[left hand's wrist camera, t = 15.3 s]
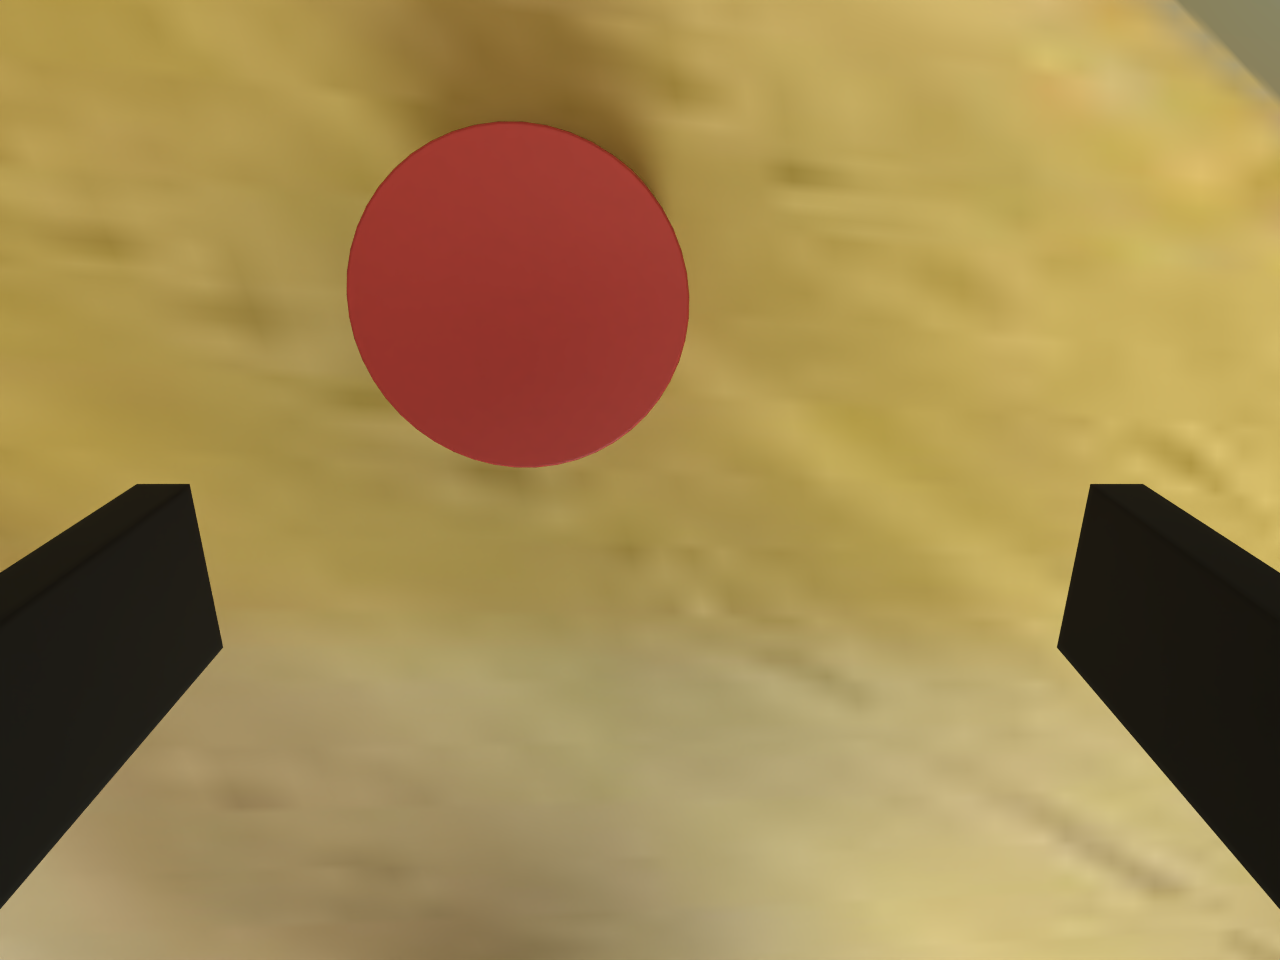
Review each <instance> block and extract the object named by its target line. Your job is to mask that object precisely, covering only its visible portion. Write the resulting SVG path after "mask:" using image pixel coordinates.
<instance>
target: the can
mask: <svg viewBox="0 0 1280 960" xmlns="http://www.w3.org/2000/svg"><path fill="white" fill-rule="evenodd" d="M347 301H348V310H349V318H350V322H351V326H352V330H353V334H354V339H355V341H356V344H357V347H358V349H359V352H360V354H361V357H362V360H363V362H364V364H365V365H366V367H367V369H368V371H369V373H370V375H371V377H372V379H373V380H374V382H375V383H376V385H377V386H378V388H379V389H380V391H381V392H382V393H383V395H384V396H385V398H386V399H387V400H388V401H389V402H390V403H391V405H392V406H393V407H394V408H395V409H396V410H397V411H398V412H399V414H400V415H401V416H403V417H404V418H405V419H406V420H407V421H408V422H409V423H410V424H412V425H413V426H414V427H415V428H416V429H417V430H419V431H420V432H422V433H423V434H425V435H426V436H427V437H429V438H430V439H432V440H433V441H435V442H436V443H438V444H440V445H442V446H444V447H446V448H448V449H450V450H452V451H453V452H456V453H458V454H461V455H464V456H466V457H469V458H471V459H474V460H478V461H482V462H486V463H490V464H494V465H501V466H509V467H543V466H551V465H558V464H562V463H566V462H570V461H574V460H578V459H580V458H583V457H585V456H588V455H590V454H593V453H595V452H597V451H599V450H601V449H603V448H605V447H607V446H608V445H610V444H612V443H614V442H615V441H617V440H618V439H619V438H621V437H622V436H624V435H625V434H626V433H628V432H629V431H630V430H632V429H633V428H634V427H635V426H636V425H637V424H638V423H639V422H640V421H641V420H642V419H643V418H644V417H645V416H646V415H647V414H648V413H649V411H650V410H651V409H652V408H653V406H654V405H655V404H656V403H657V401H658V400H659V399H660V397H661V396H662V394H663V392H664V391H665V389H666V387H667V386H668V384H669V382H670V381H671V378H672V376H673V374H674V372H675V369H676V367H677V365H678V363H679V360H680V356H681V353H682V350H683V346H684V343H685V339H686V332H687V326H688V319H689V289H688V280H687V272H686V268H685V263H684V259H683V255H682V251H681V248H680V245H679V243H678V240H677V237H676V235H675V232H674V230H673V227H672V226H671V224H670V222H669V220H668V218H667V216H666V214H665V212H664V211H663V209H662V207H661V206H660V204H659V203H658V201H657V200H656V199H655V197H654V196H653V194H652V193H651V192H650V190H649V189H648V187H647V186H646V185H645V184H644V182H643V181H642V180H641V179H640V178H639V177H638V176H637V175H636V174H635V173H634V172H633V171H632V170H631V169H630V168H629V167H627V166H626V165H625V164H624V163H623V162H621V161H620V160H619V159H617V158H616V157H615V156H613V155H612V154H610V153H609V152H607V151H606V150H604V149H602V148H601V147H599V146H598V145H596V144H594V143H593V142H591V141H589V140H586V139H584V138H582V137H580V136H577V135H575V134H573V133H571V132H568V131H565V130H561V129H558V128H554V127H551V126H548V125H542V124H535V123H528V122H492V123H484V124H477V125H472V126H469V127H466V128H462V129H459V130H455V131H452V132H450V133H448V134H445V135H443V136H441V137H439V138H436V139H434V140H432V141H430V142H429V143H427V144H426V145H424V146H422V147H421V148H419V149H418V150H416V151H415V152H413V153H412V154H410V155H409V156H408V157H407V158H406V159H405V160H403V161H402V162H401V163H400V164H399V165H398V166H397V167H395V168H394V169H393V170H392V172H391V173H390V174H389V175H388V176H387V177H386V179H385V180H384V181H383V182H382V183H381V184H380V186H379V187H378V188H377V190H376V192H375V193H374V195H373V196H372V198H371V200H370V201H369V203H368V204H367V206H366V208H365V210H364V212H363V215H362V217H361V219H360V221H359V224H358V226H357V229H356V232H355V235H354V239H353V242H352V246H351V249H350V256H349V262H348V269H347Z"/></svg>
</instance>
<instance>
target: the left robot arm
mask: <svg viewBox="0 0 1280 960" xmlns="http://www.w3.org/2000/svg"><path fill="white" fill-rule="evenodd" d="M222 648H223V645H222V640H221V635H220V630H219V625H218V621H217V616H216V611H215V606H214V601H213V596H212V591H211V586H210V582H209V577H208V572H207V567H206V562H205V557H204V552H203V547H202V542H201V538H200V533H199V528H198V523H197V518H196V513H195V508H194V503H193V499H192V494H191V489H190V484H136V485H135V486H133V487H132V488H130V489H129V490H127V491H126V492H124V493H123V494H121V495H119V496H118V497H116V498H115V499H113V500H112V501H110V502H109V503H107V504H106V505H104V506H102V507H101V508H99V509H98V510H96V511H95V512H93V513H92V514H90V515H89V516H87V517H86V518H84V519H82V520H81V521H79V522H78V523H76V524H75V525H73V526H72V527H70V528H69V529H67V530H66V531H64V532H62V533H61V534H59V535H58V536H56V537H55V538H53V539H52V540H50V541H49V542H47V543H45V544H44V545H42V546H41V547H39V548H38V549H36V550H35V551H33V552H32V553H30V554H29V555H27V556H25V557H24V558H22V559H21V560H19V561H18V562H16V563H15V564H13V565H12V566H10V567H9V568H7V569H5V570H4V571H2V572H1V573H0V909H1V908H2V906H3V905H4V904H5V903H6V902H7V901H8V899H9V898H10V897H11V896H12V895H13V894H14V892H15V891H16V890H17V889H18V888H19V886H20V885H21V884H22V883H23V882H24V881H25V879H26V878H27V877H28V876H29V875H30V874H31V872H32V871H33V870H34V869H35V868H36V867H37V865H38V864H39V863H40V862H41V861H42V859H43V858H44V857H45V856H46V855H47V854H48V852H49V851H50V850H51V849H52V848H53V847H54V845H55V844H56V843H57V842H58V841H59V839H60V838H61V837H62V836H63V835H64V834H65V832H66V831H67V830H68V829H69V828H70V827H71V825H72V824H73V823H74V822H75V821H76V820H77V818H78V817H79V816H80V815H81V814H82V812H83V811H84V810H85V809H86V808H87V807H88V805H89V804H90V803H91V802H92V801H93V800H94V798H95V797H96V796H97V795H98V794H99V793H100V791H101V790H102V789H103V788H104V787H105V785H106V784H107V783H108V782H109V781H110V780H111V778H112V777H113V776H114V775H115V774H116V773H117V771H118V770H119V769H120V768H121V767H122V765H123V764H124V763H125V762H126V761H127V760H128V758H129V757H130V756H131V755H132V754H133V753H134V751H135V750H136V749H137V748H138V747H139V746H140V744H141V743H142V742H143V741H144V740H145V738H146V737H147V736H148V735H149V734H150V733H151V731H152V730H153V729H154V728H155V727H156V726H157V724H158V723H159V722H160V721H161V720H162V719H163V717H164V716H165V715H166V714H167V713H168V711H169V710H170V709H171V708H172V707H173V706H174V704H175V703H176V702H177V701H178V700H179V699H180V697H181V696H182V695H183V694H184V693H185V691H186V690H187V689H188V688H189V687H190V686H191V684H192V683H193V682H194V681H195V680H196V679H197V677H198V676H199V675H200V674H201V673H202V672H203V670H204V669H205V668H206V667H207V666H208V664H209V663H210V662H211V661H212V660H213V659H214V657H215V656H216V655H217V654H218V653H219V652H220V650H221V649H222ZM1057 648H1058V649H1059V650H1060V652H1061V653H1062V654H1063V655H1064V656H1065V657H1066V659H1067V660H1068V661H1069V662H1070V663H1071V664H1072V666H1073V667H1074V668H1075V669H1076V670H1077V672H1078V673H1079V674H1080V675H1081V676H1082V677H1083V679H1084V680H1085V681H1086V682H1087V683H1088V684H1089V686H1090V687H1091V688H1092V689H1093V690H1094V691H1095V693H1096V694H1097V695H1098V696H1099V697H1100V699H1101V700H1102V701H1103V702H1104V703H1105V704H1106V706H1107V707H1108V708H1109V709H1110V710H1111V711H1112V713H1113V714H1114V715H1115V716H1116V717H1117V719H1118V720H1119V721H1120V722H1121V723H1122V724H1123V726H1124V727H1125V728H1126V729H1127V730H1128V731H1129V733H1130V734H1131V735H1132V736H1133V737H1134V738H1135V740H1136V741H1137V742H1138V743H1139V744H1140V746H1141V747H1142V748H1143V749H1144V750H1145V751H1146V753H1147V754H1148V755H1149V756H1150V757H1151V758H1152V760H1153V761H1154V762H1155V763H1156V764H1157V765H1158V767H1159V768H1160V769H1161V770H1162V771H1163V773H1164V774H1165V775H1166V776H1167V777H1168V778H1169V780H1170V781H1171V782H1172V783H1173V784H1174V785H1175V787H1176V788H1177V789H1178V790H1179V791H1180V793H1181V794H1182V795H1183V796H1184V797H1185V798H1186V800H1187V801H1188V802H1189V803H1190V804H1191V805H1192V807H1193V808H1194V809H1195V810H1196V811H1197V812H1198V814H1199V815H1200V816H1201V817H1202V818H1203V820H1204V821H1205V822H1206V823H1207V824H1208V825H1209V827H1210V828H1211V829H1212V830H1213V831H1214V832H1215V834H1216V835H1217V836H1218V837H1219V838H1220V839H1221V841H1222V842H1223V843H1224V844H1225V845H1226V847H1227V848H1228V849H1229V850H1230V851H1231V852H1232V854H1233V855H1234V856H1235V857H1236V858H1237V859H1238V861H1239V862H1240V863H1241V864H1242V865H1243V867H1244V868H1245V869H1246V870H1247V871H1248V872H1249V874H1250V875H1251V876H1252V877H1253V878H1254V879H1255V881H1256V882H1257V883H1258V884H1259V885H1260V886H1261V888H1262V889H1263V890H1264V891H1265V892H1266V894H1267V895H1268V896H1269V897H1270V898H1271V899H1272V901H1273V902H1274V903H1275V904H1276V905H1277V906H1278V908H1279V909H1280V573H1279V572H1278V571H1276V570H1275V569H1273V568H1271V567H1270V566H1268V565H1267V564H1265V563H1264V562H1262V561H1261V560H1259V559H1258V558H1256V557H1255V556H1253V555H1251V554H1250V553H1248V552H1247V551H1245V550H1244V549H1242V548H1241V547H1239V546H1238V545H1236V544H1235V543H1233V542H1231V541H1230V540H1228V539H1227V538H1225V537H1224V536H1222V535H1221V534H1219V533H1218V532H1216V531H1214V530H1213V529H1211V528H1210V527H1208V526H1207V525H1205V524H1204V523H1202V522H1201V521H1199V520H1198V519H1196V518H1194V517H1193V516H1191V515H1190V514H1188V513H1187V512H1185V511H1184V510H1182V509H1181V508H1179V507H1177V506H1176V505H1174V504H1173V503H1171V502H1170V501H1168V500H1167V499H1165V498H1164V497H1162V496H1161V495H1159V494H1157V493H1156V492H1154V491H1153V490H1151V489H1150V488H1148V487H1147V486H1145V485H1144V484H1090V489H1089V494H1088V499H1087V503H1086V508H1085V513H1084V518H1083V523H1082V528H1081V533H1080V538H1079V542H1078V547H1077V552H1076V557H1075V562H1074V567H1073V572H1072V577H1071V582H1070V586H1069V591H1068V596H1067V601H1066V606H1065V611H1064V616H1063V621H1062V625H1061V630H1060V635H1059V640H1058V645H1057Z"/></svg>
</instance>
